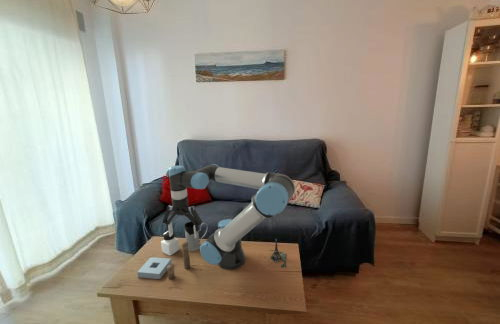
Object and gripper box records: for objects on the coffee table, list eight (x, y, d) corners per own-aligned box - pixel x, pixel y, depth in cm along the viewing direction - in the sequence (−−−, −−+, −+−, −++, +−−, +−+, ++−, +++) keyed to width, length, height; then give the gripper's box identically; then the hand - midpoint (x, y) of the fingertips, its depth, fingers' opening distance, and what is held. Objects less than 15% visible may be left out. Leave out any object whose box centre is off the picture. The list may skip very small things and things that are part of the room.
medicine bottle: (179, 249, 141) (177, 231, 139) (170, 256, 136) (167, 237, 133) (171, 246, 145) (169, 228, 142) (162, 252, 139) (159, 233, 137)
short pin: (175, 275, 120) (174, 264, 118) (172, 279, 117) (171, 268, 115) (170, 274, 120) (168, 264, 119) (167, 279, 117) (165, 268, 116)
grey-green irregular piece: (286, 269, 122) (286, 246, 119) (266, 267, 124) (266, 244, 121) (287, 251, 136) (286, 230, 133) (269, 250, 138) (268, 229, 135)
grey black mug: (184, 245, 145) (181, 223, 142) (206, 238, 152) (204, 217, 148) (187, 252, 138) (185, 229, 134) (211, 245, 144) (209, 223, 141)
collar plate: (171, 263, 129) (170, 258, 128) (160, 279, 117) (159, 273, 117) (151, 262, 131) (150, 257, 130) (138, 277, 119) (137, 272, 119)
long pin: (191, 265, 127) (188, 242, 123) (189, 269, 124) (186, 245, 120) (185, 265, 127) (183, 241, 124) (183, 269, 124) (180, 245, 121)
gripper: (206, 195, 118) (209, 233, 123) (160, 193, 122) (164, 231, 127) (201, 200, 111) (204, 241, 116) (151, 199, 115) (157, 238, 120)
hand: (183, 236), depth 121 cm, fingers open, 13 cm apart
